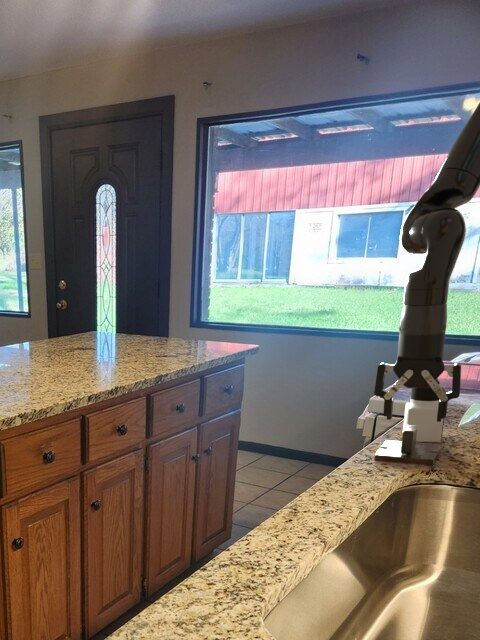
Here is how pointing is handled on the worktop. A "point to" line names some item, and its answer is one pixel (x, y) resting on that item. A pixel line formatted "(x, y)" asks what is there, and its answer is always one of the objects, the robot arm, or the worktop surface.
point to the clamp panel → (419, 455)
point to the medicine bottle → (424, 415)
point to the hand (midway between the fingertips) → (413, 419)
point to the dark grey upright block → (409, 439)
